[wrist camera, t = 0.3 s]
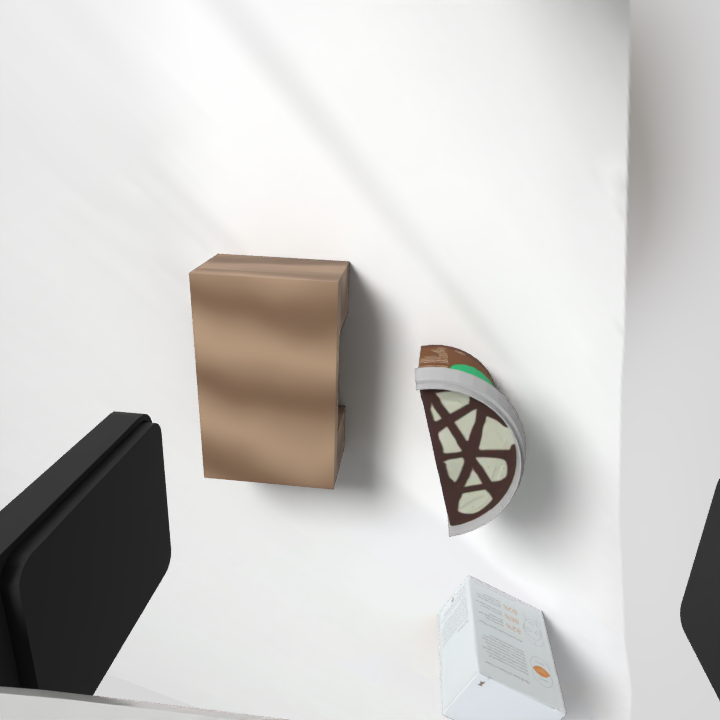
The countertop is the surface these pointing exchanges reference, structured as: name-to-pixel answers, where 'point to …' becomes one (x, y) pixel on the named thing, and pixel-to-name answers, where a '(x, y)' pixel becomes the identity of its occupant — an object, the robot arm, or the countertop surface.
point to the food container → (470, 436)
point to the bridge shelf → (270, 367)
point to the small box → (495, 658)
